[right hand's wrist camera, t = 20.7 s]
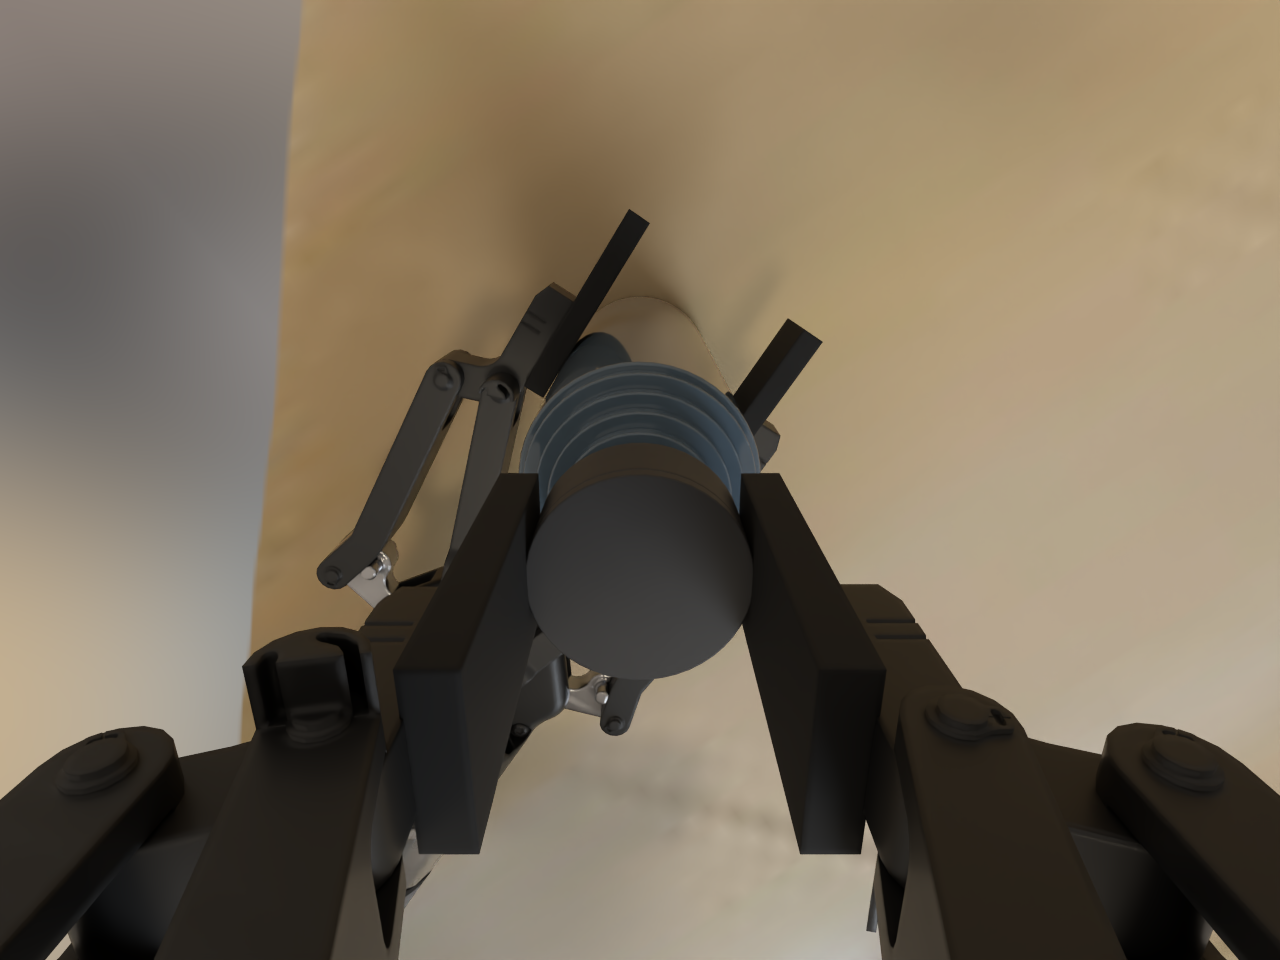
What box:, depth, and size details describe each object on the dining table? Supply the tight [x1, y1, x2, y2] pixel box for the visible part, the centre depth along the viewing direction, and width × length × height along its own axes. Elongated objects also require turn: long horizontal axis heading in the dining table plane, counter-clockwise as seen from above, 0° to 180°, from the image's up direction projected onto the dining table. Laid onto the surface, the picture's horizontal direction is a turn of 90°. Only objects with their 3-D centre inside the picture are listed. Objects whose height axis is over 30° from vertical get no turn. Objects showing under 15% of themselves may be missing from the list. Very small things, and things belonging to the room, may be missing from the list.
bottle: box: [519, 296, 760, 513], centre depth 22 cm, size 6×6×19 cm
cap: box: [526, 443, 753, 680], centre depth 13 cm, size 4×4×2 cm
